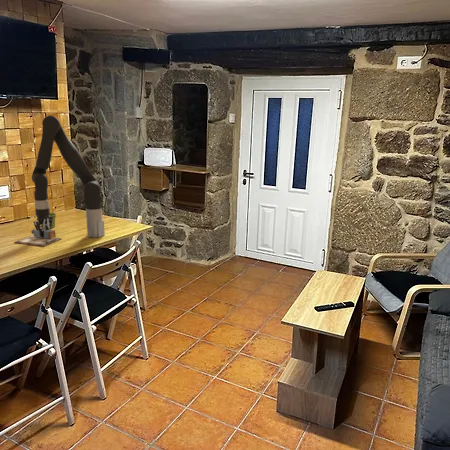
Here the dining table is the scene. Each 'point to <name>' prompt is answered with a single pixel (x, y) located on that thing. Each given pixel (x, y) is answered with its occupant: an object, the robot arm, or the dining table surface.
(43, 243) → the clipboard
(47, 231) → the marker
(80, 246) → the dining table surface
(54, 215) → the plant pot
